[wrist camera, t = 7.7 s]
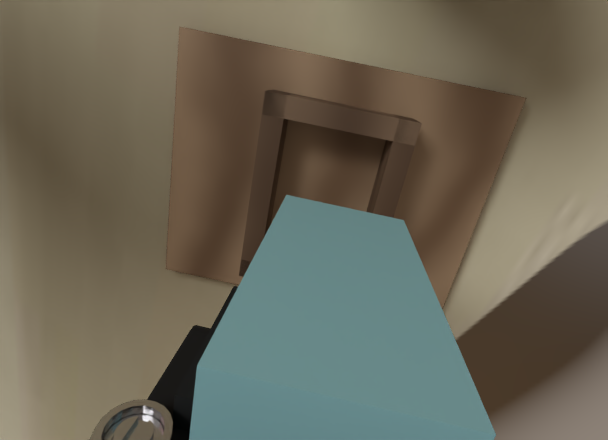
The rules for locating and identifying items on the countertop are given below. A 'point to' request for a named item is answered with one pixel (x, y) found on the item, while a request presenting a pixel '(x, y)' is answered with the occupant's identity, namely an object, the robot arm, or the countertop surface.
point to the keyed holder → (323, 151)
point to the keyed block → (335, 340)
